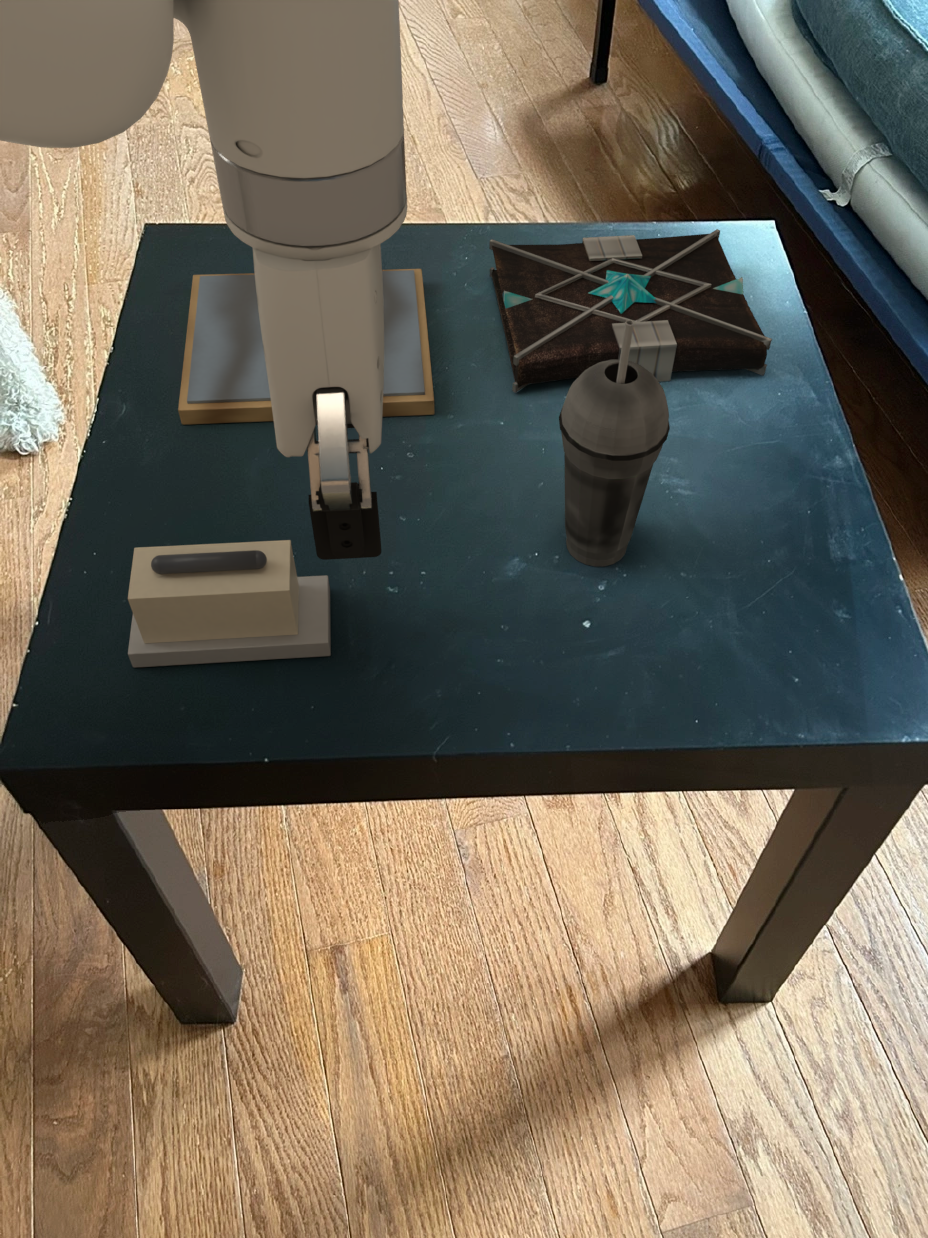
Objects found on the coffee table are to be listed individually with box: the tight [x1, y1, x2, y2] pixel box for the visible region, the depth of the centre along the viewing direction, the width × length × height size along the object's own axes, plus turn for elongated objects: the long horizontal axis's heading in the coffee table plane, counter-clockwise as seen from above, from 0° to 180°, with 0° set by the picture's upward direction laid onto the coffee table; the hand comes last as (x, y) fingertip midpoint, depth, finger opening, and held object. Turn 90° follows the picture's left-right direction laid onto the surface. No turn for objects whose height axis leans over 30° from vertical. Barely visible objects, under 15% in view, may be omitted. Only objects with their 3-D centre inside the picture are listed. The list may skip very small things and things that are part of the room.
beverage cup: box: [558, 320, 671, 568], centre depth 73 cm, size 7×7×20 cm
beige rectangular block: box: [127, 539, 332, 668], centre depth 72 cm, size 13×6×7 cm, turn 96°
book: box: [488, 228, 773, 394], centre depth 95 cm, size 22×17×5 cm
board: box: [177, 268, 436, 426], centre depth 93 cm, size 20×18×2 cm
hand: (348, 486), depth 58 cm, fingers open, 9 cm apart
